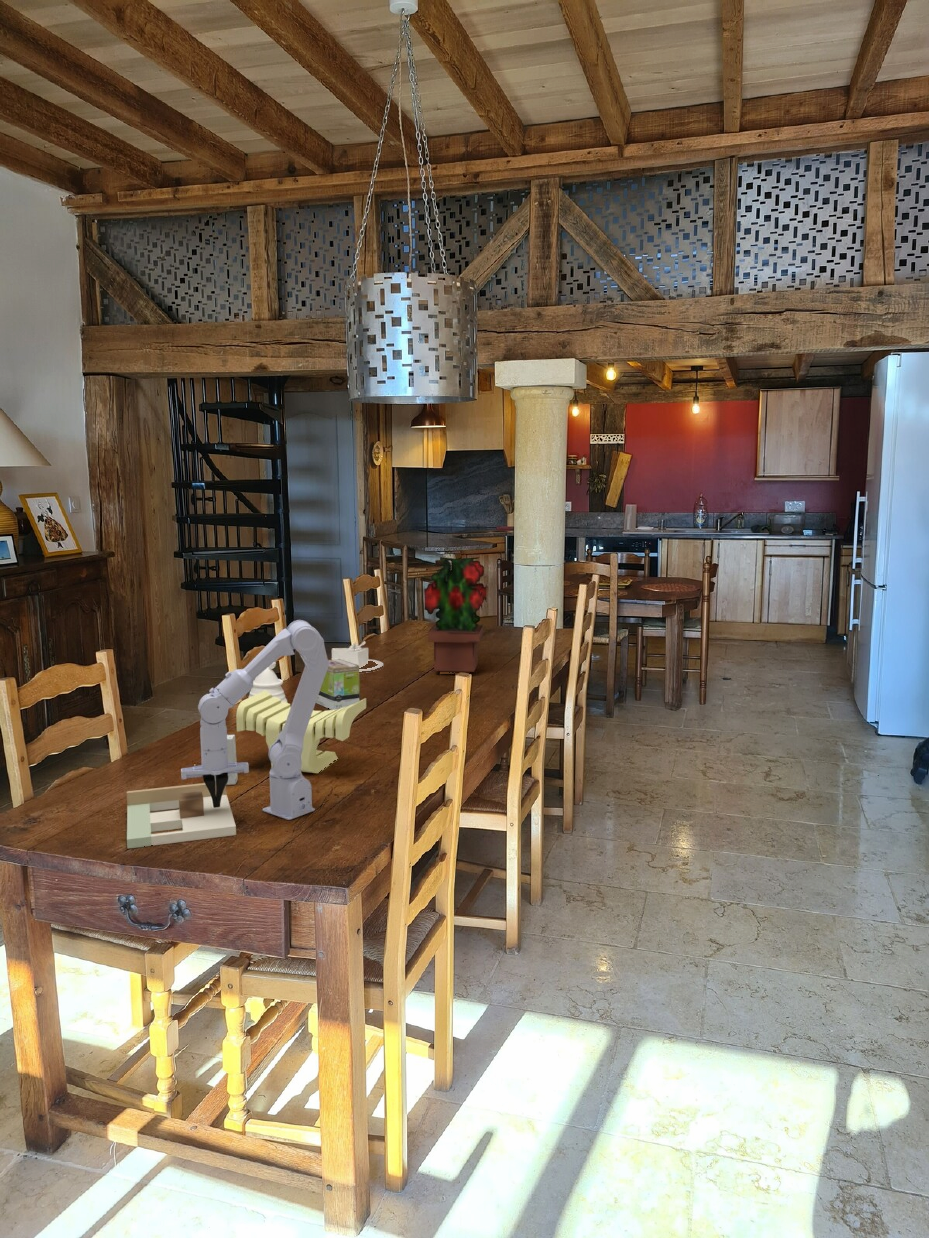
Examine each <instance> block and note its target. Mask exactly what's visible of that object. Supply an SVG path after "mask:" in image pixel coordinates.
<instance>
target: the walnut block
mask: <svg viewBox="0 0 929 1238" xmlns="http://www.w3.org/2000/svg"><path fill="white" fill-rule="evenodd" d="M178 810H179V812H180V819H181V818H190V817H198V816H204V804H203V795H202V791H199V792H190V793H181V794H179V808H178Z"/></svg>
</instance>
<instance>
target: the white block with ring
mask: <svg viewBox="0 0 929 1238" xmlns="http://www.w3.org/2000/svg"><path fill="white" fill-rule="evenodd" d="M366 643H367V642H366V641H365V640H364V641H362V642H361V643H360V644H359V645H358V644H357V643H356V642H355V641H354V643H353V644H352V645H350V646H349V647H338V648H337V647H335V648H331V660H333V659H341V660H344V661H347V662H350V663H353V664H356V665H359V668H361V667H363V666H365V665H366V664H368V661H373V662H375V663H376V664H378V665H377V666H375V667H372V668H367V669H359V672H362V671H371V670H375V669H377V668H380V667H382V666H383V667H384V663H383V662H382V661H380V660H376V659H370V658H369V647H362V646H364V645H365V644H366Z"/></svg>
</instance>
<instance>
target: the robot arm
mask: <svg viewBox="0 0 929 1238" xmlns="http://www.w3.org/2000/svg"><path fill="white" fill-rule="evenodd" d="M325 646H326V645H325V639H324V638H323V637H322V636H321V634H320V632H319V631H318V630H317V629H316V628H315V627H314V626H312V625H311V624H310V623H309V622H308V621H306V620H302V619H297V620H293V621H292V622H291V623H289V625H288V626H287V627H286V628H283V629H282V630H281V631H280V632H279V633H278V634H277V635H275V636H274V637H273V639H272V640H271V641H270V642H268V644H266V646H264V648H263V649H261V651H260V652H259V653H258V654H257V655H256V656H254V658H252V660H251V661H249V663H248V664H247V665H246V666H245V667H244V668H240V669H233V671H228V672H226V673H225V678H224V679H223V680H222V681H221V682H220V683H219V684H218V685H217V686H215V688H214V687H211V688H210V689H209V693H206V694H204V695H203V696H202V697H201V698H200V700H199V703H198V705H197V710H198V712H199V714H200V720H199V722H200V724H199V725H200V728H199V734H200V736H199V737H200V755H201V757H200V761H201V764H200V765H199V764H198V765H194V766H190V767H184V768H183V767H182V768H181V769H180V775H181V776H180V777H181V780H187V779H191V778H201V777H202V780H203V783H205V785H206V786H207V788H208V790H209V792H210V795H211V797H212V801H213V807H214V808H216V807H220V802H221V797H222V794H223V791H224V788H225V786H226V787H227V785H226V784H227V782H228V774H232V773H237V774H239V773H240V774H241V773H243V774H248V773H250V770H249V769H250V767H249V766H250V765H249V763H248V761H247V762H245V761H244V762H242V761H241V762H237V763H228V747H227V735H228V727H227V725H226V718H227V716H228V714H229V709H231V708H233V707H235V705H236V704H237V703H239V702H240V701H241V700H242V699H243V698H244V697H245V696H246V695H247V694H248V693H250V691H251V689H252V688H253V681H254V680H255V678H256V677H257V676H258V675H259V674H261V673H262V672H263V671H264V670H265V669H266V668H268V667H269V666H270V665H271V664H272V663H273V662H276V661H277V660H278V659H279V658H280V657H287V656H293V655H295V651H296V652H297V653H298V654H299V656H300V658H301V660H302V661H303V663H304V668H303V671H302V674H301V677H300V680H299V683H298V686H297V689H296V691H295V694H294V697H293V700H292V703H291V704H290V707H291V708H290V711H289V714H288V717H287V720H286V723H285V725H284V728H283V730H282V731H281V732H280V733H279V735H278V738H277V740H276V742H275V743H274V744H273V745H272V746H271V747H270V749H269V748H268V753H267V754H268V759H269V760H270V763H271V762H272V764H273V766H272V768H270V770H269V773H268V774H269V799H270V803H269V804H270V805H269V806H267V807H264V808H262V812H264V813H267V814H269V815H270V814H271V815H273V816H277V817H279V818H282V819H284V820H288V821H291V820H293V819H296V818H298V817H302V816H303V815H306V814H309V813H312V812H314V811H315V809H316V808H315V807H313V802H312V801H313V799H312V784H311V781H310V780H309V779H307V778H306V777H305V776H304V775H303V773H302V772H301V766H302V760H301V754H302V751H303V740H304V735H305V732H306V729H307V726H308V723H309V721H310V718H311V715H312V712H313V710H314V709H315V705H316V704H317V703H316V700H317V698H318V695H319V692H320V689H321V686H322V683H323V680H324V677H325V674H326V672H327V669H328V664H329V663H328V660H329V659H328V655H327V652H326V651H327V650H326V647H325ZM294 650H295V651H294ZM214 775H215V776H216V781H215V776H214Z"/></svg>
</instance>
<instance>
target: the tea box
mask: <svg viewBox="0 0 929 1238" xmlns="http://www.w3.org/2000/svg"><path fill="white" fill-rule="evenodd" d="M328 663H329V664H328V669H327V672H326V674H325V677H324V680H323V683H322V686H321V689H320V692H319V695H318V698H317V700H316V703H315V704H317V705H320V706H321V707H325V708H326V709H328V708H329V709H328V710H335V709H337V710H338V709H340V708H343V707H346V706H347V707H348V706H350V705H352V704H354V703H357V702H359V701H361V700H360V673H359V665H356V664H353V663H350V662H347V661H344V660H341V659H333V660H332V659H328Z"/></svg>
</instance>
